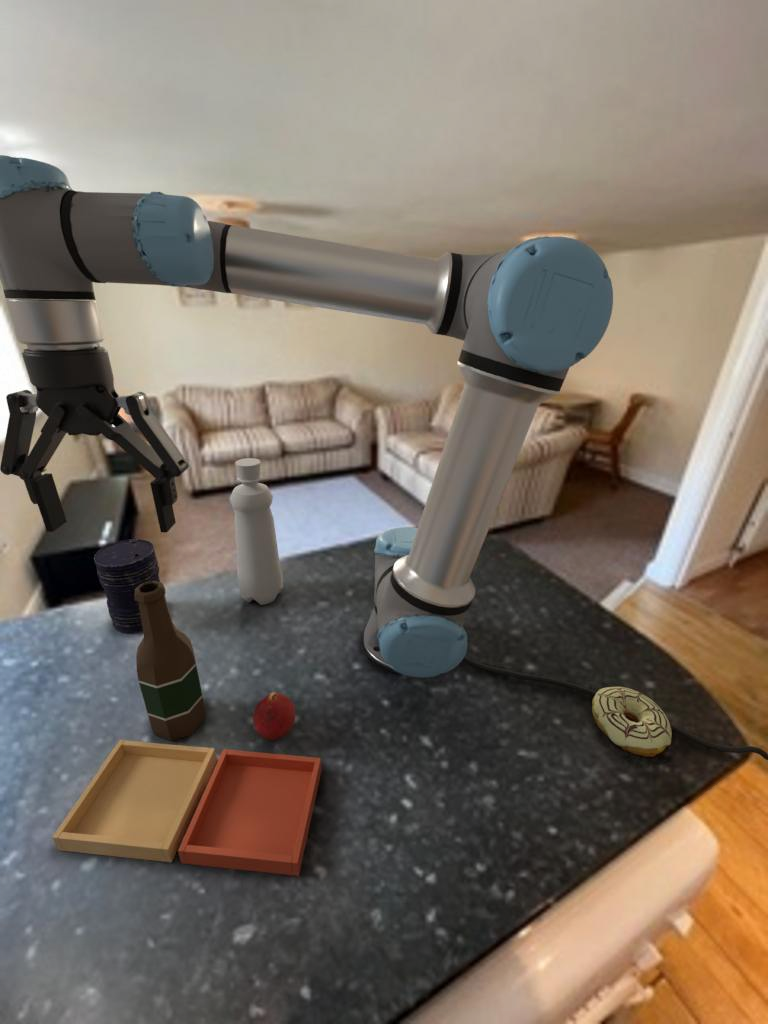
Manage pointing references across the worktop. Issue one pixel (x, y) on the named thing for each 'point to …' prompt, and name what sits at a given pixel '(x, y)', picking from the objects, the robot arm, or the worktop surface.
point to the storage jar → (126, 579)
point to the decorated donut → (637, 736)
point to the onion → (274, 716)
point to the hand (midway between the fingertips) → (113, 527)
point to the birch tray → (138, 802)
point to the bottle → (255, 536)
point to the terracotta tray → (254, 813)
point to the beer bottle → (166, 668)
